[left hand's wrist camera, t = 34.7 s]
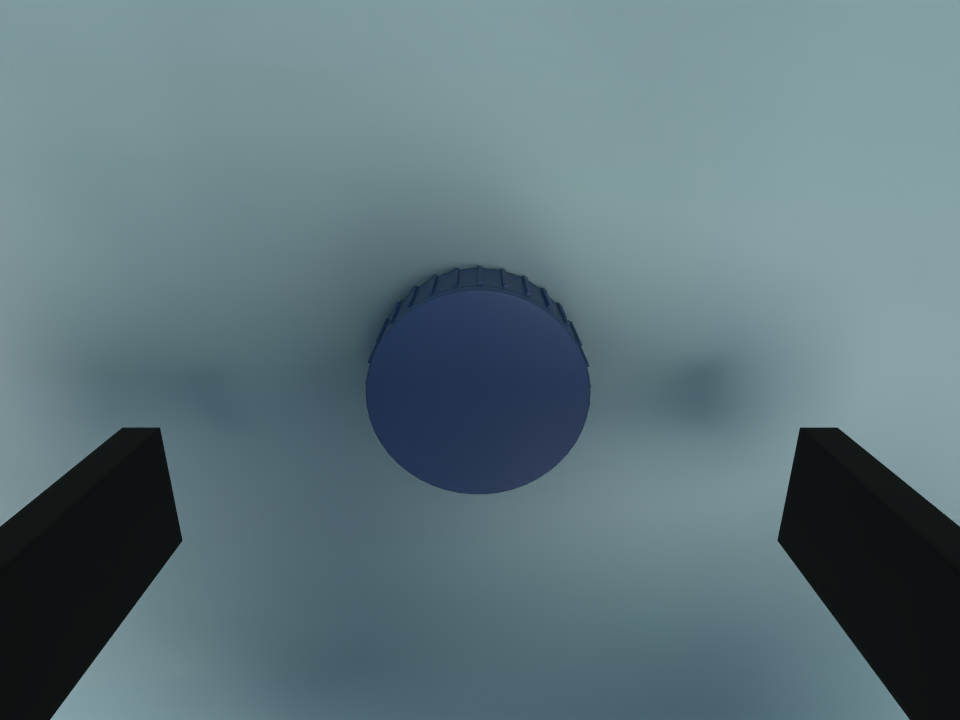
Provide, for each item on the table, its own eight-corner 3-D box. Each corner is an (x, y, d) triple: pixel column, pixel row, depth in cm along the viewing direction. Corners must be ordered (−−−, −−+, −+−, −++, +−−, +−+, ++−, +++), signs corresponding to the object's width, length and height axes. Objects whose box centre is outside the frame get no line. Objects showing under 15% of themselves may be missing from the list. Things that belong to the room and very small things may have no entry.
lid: (426, 227, 15) (418, 244, 13) (618, 320, 16) (637, 348, 14) (346, 407, 17) (328, 446, 15) (522, 481, 18) (527, 527, 16)
